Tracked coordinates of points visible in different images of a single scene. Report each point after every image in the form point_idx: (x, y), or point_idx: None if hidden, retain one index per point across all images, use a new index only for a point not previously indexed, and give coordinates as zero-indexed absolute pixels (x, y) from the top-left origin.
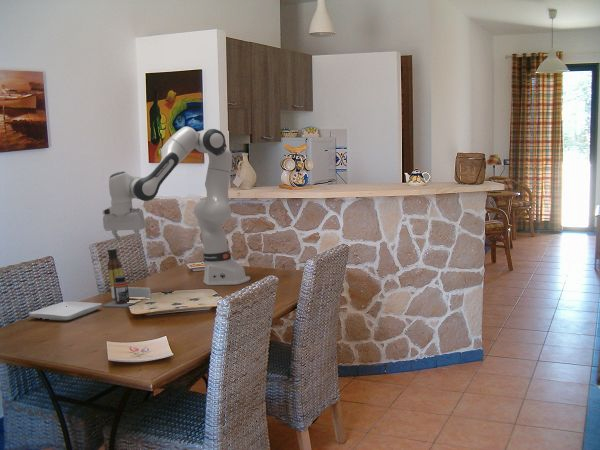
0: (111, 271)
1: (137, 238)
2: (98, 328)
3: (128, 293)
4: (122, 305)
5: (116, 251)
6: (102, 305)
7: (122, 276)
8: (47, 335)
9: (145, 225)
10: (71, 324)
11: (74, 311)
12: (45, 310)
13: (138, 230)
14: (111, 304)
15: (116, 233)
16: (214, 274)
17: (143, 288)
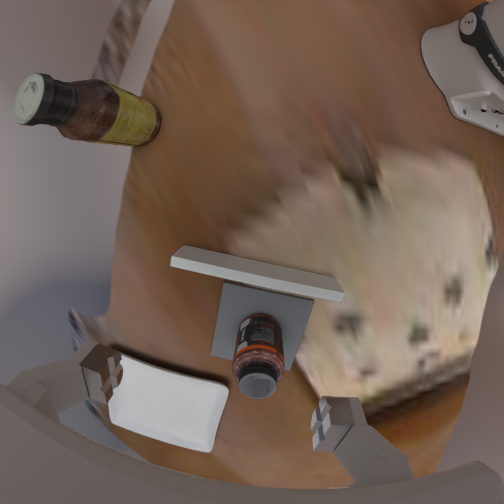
0: (95, 142)
1: (357, 404)
2: (293, 465)
3: (282, 342)
4: None
5: (55, 87)
6: (211, 355)
7: (268, 385)
8: (223, 478)
9: (495, 481)
10: (226, 450)
11: (169, 392)
12: (114, 397)
13: (402, 472)
14: (234, 349)
15: (51, 381)
16: (485, 104)
17: (321, 298)
